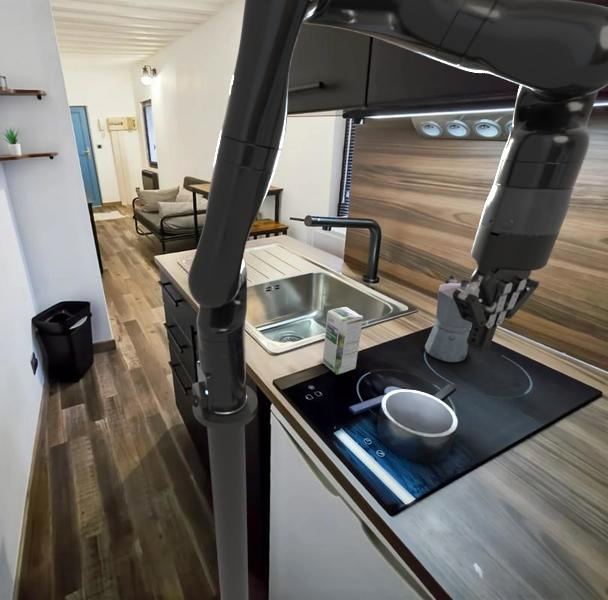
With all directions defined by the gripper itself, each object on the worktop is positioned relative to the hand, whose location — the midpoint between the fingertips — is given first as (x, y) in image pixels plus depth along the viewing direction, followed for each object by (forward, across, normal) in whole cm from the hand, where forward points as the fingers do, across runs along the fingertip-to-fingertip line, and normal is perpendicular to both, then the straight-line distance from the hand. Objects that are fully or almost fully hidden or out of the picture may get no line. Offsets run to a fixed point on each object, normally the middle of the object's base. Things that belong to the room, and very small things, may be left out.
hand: (477, 346), depth 51 cm
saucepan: (+24, -5, -8) cm, 26 cm away
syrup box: (+25, -4, -30) cm, 39 cm away
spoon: (+24, -3, -16) cm, 30 cm away
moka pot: (+24, -31, -25) cm, 46 cm away
